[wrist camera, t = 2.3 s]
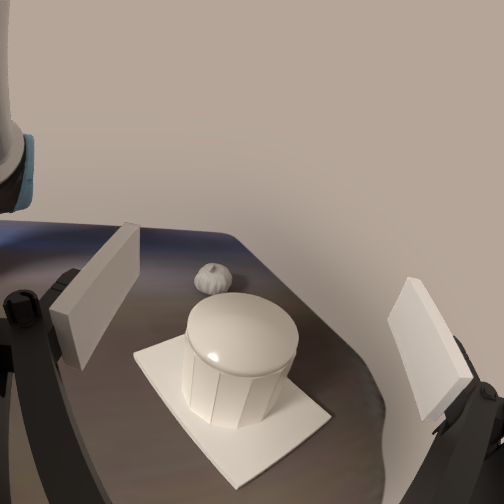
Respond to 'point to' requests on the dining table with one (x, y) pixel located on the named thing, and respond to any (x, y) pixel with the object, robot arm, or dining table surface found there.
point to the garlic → (213, 279)
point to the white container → (236, 358)
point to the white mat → (229, 439)
